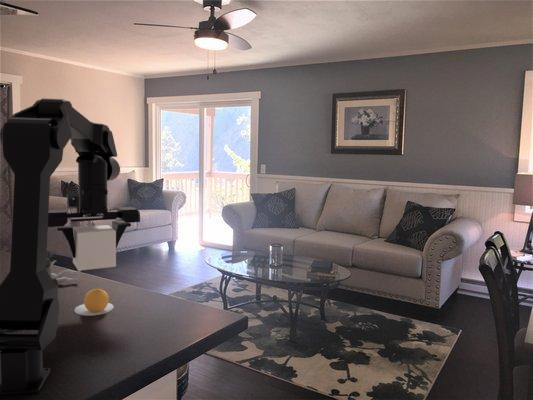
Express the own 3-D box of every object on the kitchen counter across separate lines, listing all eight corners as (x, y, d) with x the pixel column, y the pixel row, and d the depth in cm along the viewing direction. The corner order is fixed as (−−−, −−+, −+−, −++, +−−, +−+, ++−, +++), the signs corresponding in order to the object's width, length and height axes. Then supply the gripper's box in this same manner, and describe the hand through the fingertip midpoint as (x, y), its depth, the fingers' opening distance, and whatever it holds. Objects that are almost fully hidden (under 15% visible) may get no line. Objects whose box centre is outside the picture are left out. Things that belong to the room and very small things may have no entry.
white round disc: (110, 314, 93) (110, 313, 93) (70, 316, 91) (70, 315, 91) (115, 302, 100) (115, 301, 100) (78, 303, 99) (78, 302, 99)
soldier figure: (77, 288, 110) (25, 279, 105) (73, 298, 112) (21, 290, 107) (82, 263, 115) (32, 254, 110) (78, 274, 118) (29, 265, 113)
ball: (100, 297, 98) (103, 317, 95) (78, 296, 95) (81, 316, 92) (110, 284, 96) (114, 304, 93) (88, 283, 92) (91, 303, 90)
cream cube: (116, 266, 93) (115, 230, 92) (78, 270, 89) (77, 233, 88) (108, 258, 99) (108, 225, 99) (72, 262, 96) (72, 227, 95)
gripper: (127, 181, 104) (128, 244, 106) (40, 181, 95) (42, 251, 96) (140, 184, 95) (140, 254, 97) (45, 185, 85) (47, 263, 87)
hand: (93, 255), depth 94 cm, fingers closed on cream cube, 7 cm apart
